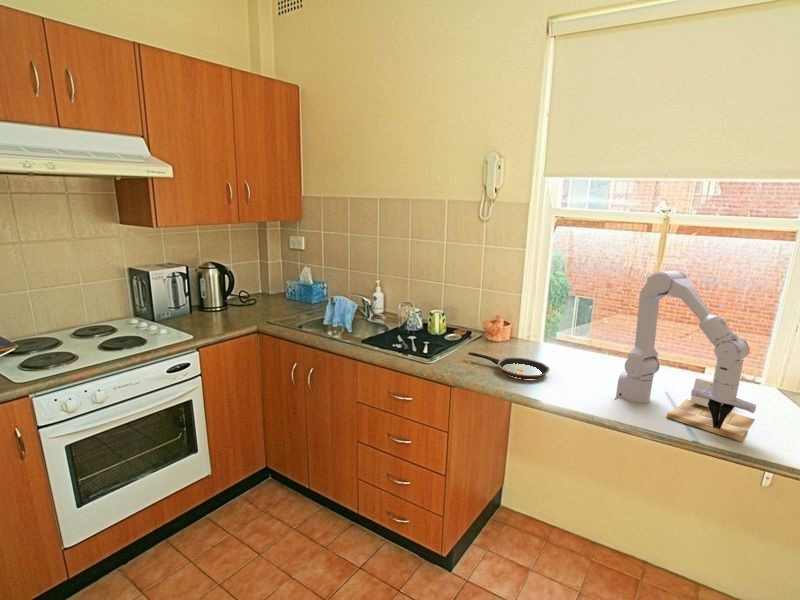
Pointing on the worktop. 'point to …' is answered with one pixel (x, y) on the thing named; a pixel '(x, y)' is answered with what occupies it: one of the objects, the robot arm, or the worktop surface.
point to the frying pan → (501, 363)
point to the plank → (707, 424)
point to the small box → (703, 385)
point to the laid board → (730, 419)
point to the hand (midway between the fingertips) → (717, 427)
